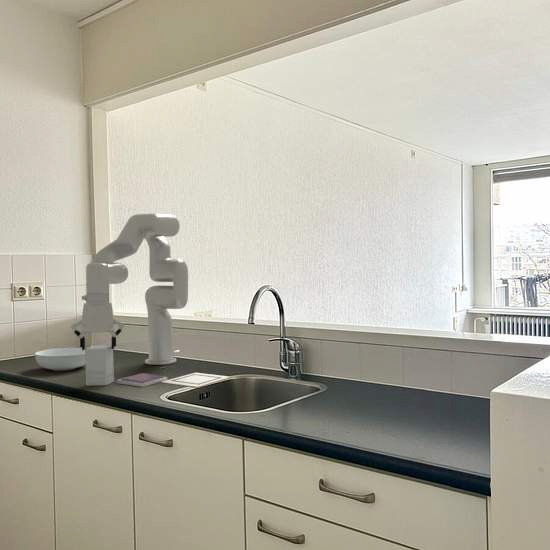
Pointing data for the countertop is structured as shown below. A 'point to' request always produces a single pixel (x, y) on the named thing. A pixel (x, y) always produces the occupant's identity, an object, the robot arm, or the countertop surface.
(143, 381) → the ink pad
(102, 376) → the supplement box
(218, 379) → the print sheet
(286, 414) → the countertop surface
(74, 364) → the serving bowl
